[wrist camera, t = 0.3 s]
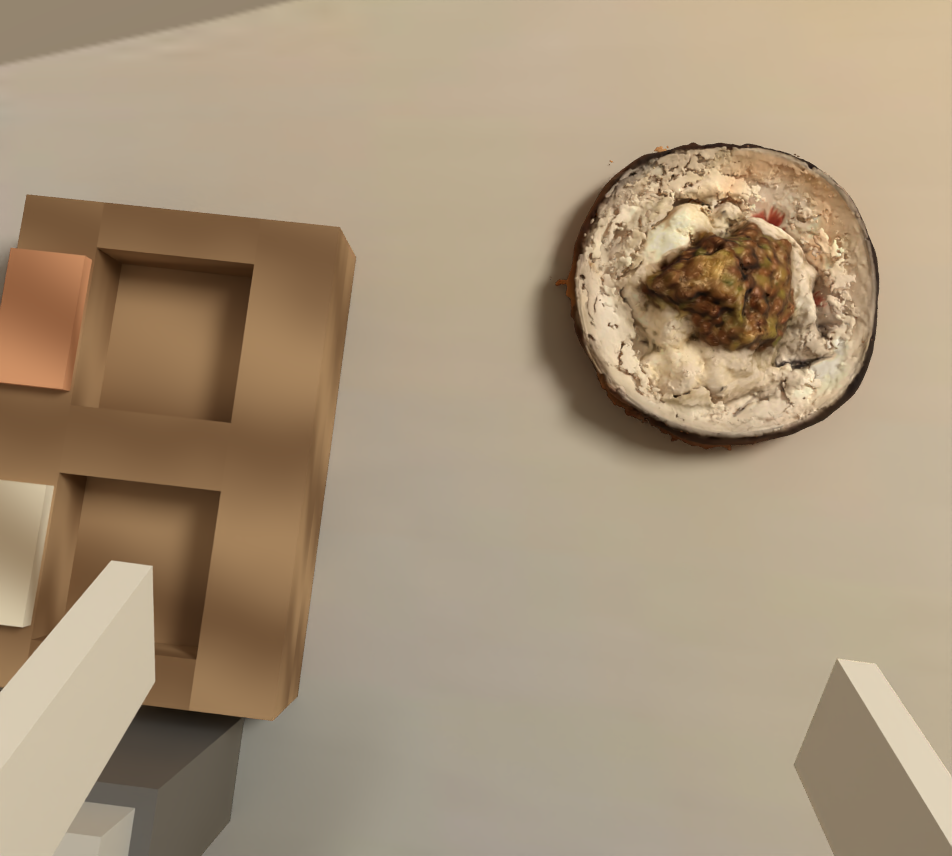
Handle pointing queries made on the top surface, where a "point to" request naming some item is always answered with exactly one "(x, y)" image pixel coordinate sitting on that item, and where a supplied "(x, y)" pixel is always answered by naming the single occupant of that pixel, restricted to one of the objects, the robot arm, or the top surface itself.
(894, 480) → the top surface
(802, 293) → the bagel
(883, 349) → the top surface
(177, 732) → the plug
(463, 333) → the top surface
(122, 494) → the socket board
